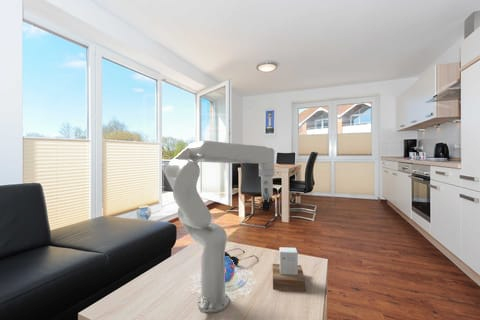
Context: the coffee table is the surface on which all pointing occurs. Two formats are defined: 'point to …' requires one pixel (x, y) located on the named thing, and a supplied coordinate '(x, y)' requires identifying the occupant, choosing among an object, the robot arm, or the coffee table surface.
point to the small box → (288, 261)
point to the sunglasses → (235, 257)
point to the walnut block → (288, 280)
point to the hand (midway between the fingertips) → (266, 208)
